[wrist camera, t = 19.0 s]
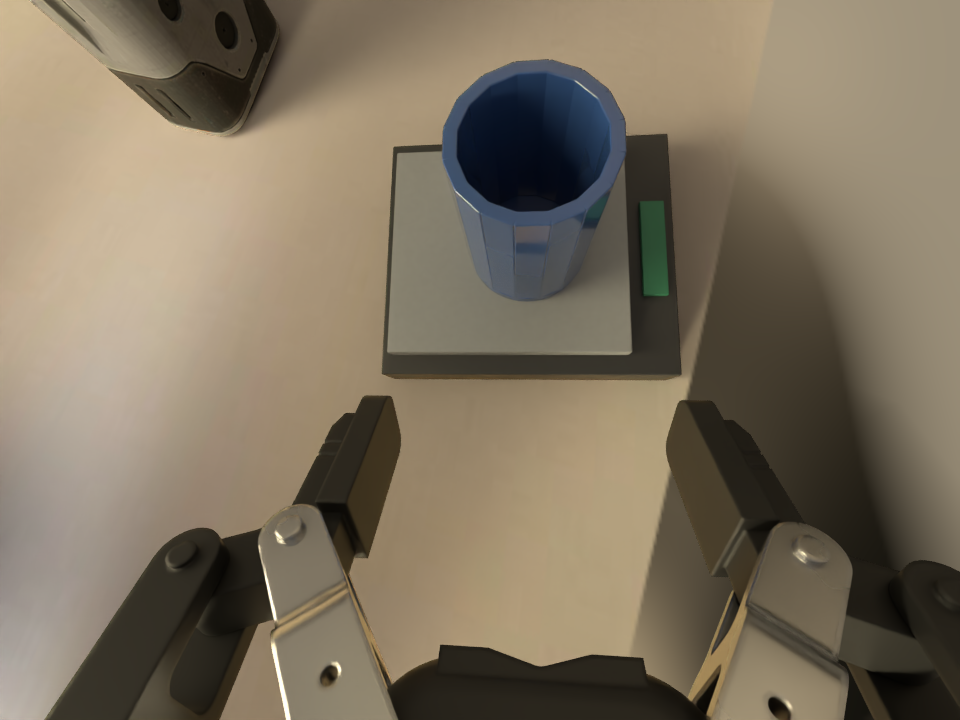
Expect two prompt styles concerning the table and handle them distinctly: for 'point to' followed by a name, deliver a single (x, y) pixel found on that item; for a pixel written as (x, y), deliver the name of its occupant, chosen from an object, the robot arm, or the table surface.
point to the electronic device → (178, 53)
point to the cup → (532, 172)
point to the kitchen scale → (543, 323)
